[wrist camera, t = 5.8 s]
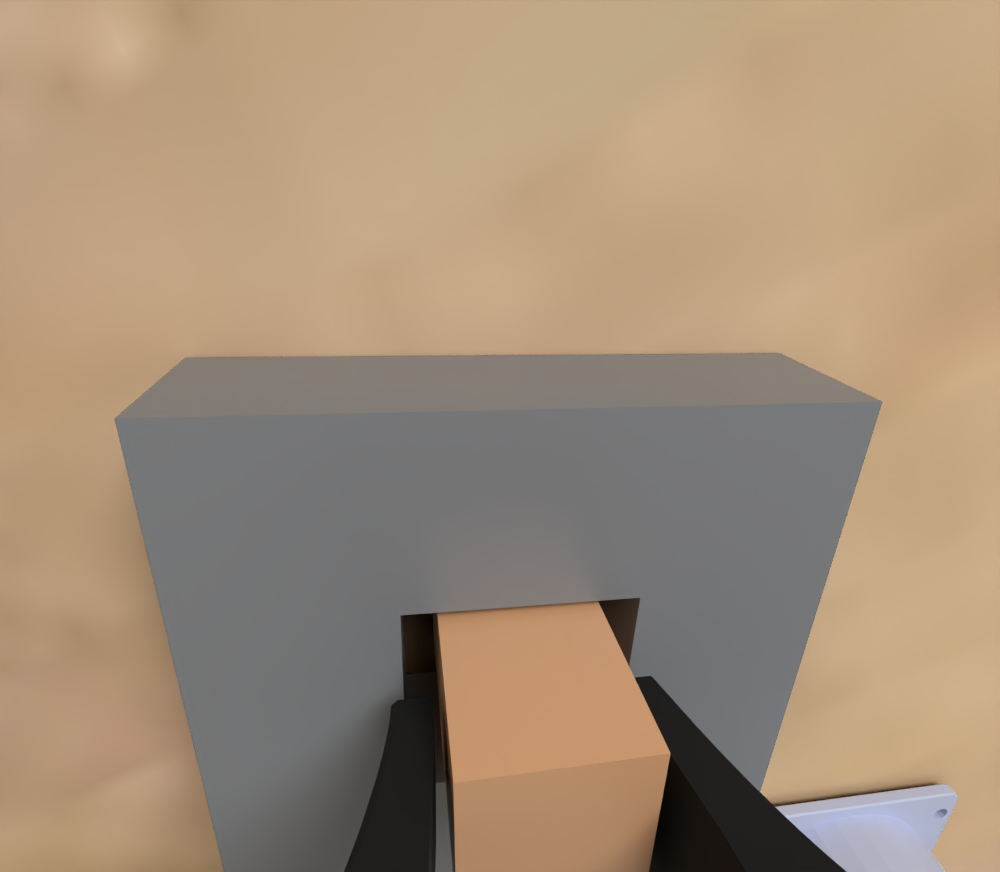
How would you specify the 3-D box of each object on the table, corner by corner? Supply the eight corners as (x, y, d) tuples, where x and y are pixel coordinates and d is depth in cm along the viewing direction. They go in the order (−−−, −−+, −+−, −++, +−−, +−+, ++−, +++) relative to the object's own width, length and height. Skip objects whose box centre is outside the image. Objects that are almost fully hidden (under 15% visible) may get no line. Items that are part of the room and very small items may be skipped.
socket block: (688, 745, 18) (741, 850, 15) (265, 795, 16) (237, 924, 13) (780, 353, 13) (882, 401, 10) (185, 357, 11) (114, 418, 8)
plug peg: (554, 626, 15) (646, 886, 9) (433, 639, 14) (456, 920, 9) (560, 523, 14) (670, 753, 8) (429, 533, 13) (453, 783, 8)
